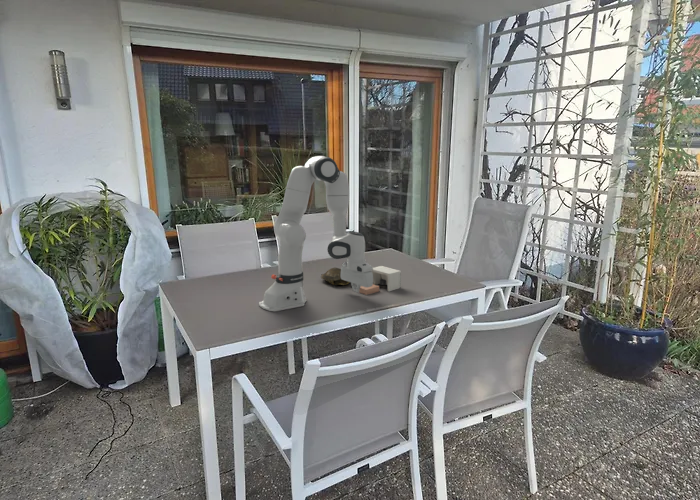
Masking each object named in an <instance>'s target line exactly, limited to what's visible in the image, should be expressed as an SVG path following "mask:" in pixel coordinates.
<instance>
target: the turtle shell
mask: <svg viewBox="0 0 700 500" xmlns="http://www.w3.org/2000/svg"><path fill="white" fill-rule="evenodd" d="M320 279H322V280H323V281H326V282H327V283H329V284H331V285H334V286H337V285H338V286H347V285H348V284H349V283H350V284H351V282H348V281H345V280H342V279H341V267H340V268H339V267H332V268H330V269H328V270H326V272H325V273H322V274H321V275H320Z"/></svg>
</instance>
